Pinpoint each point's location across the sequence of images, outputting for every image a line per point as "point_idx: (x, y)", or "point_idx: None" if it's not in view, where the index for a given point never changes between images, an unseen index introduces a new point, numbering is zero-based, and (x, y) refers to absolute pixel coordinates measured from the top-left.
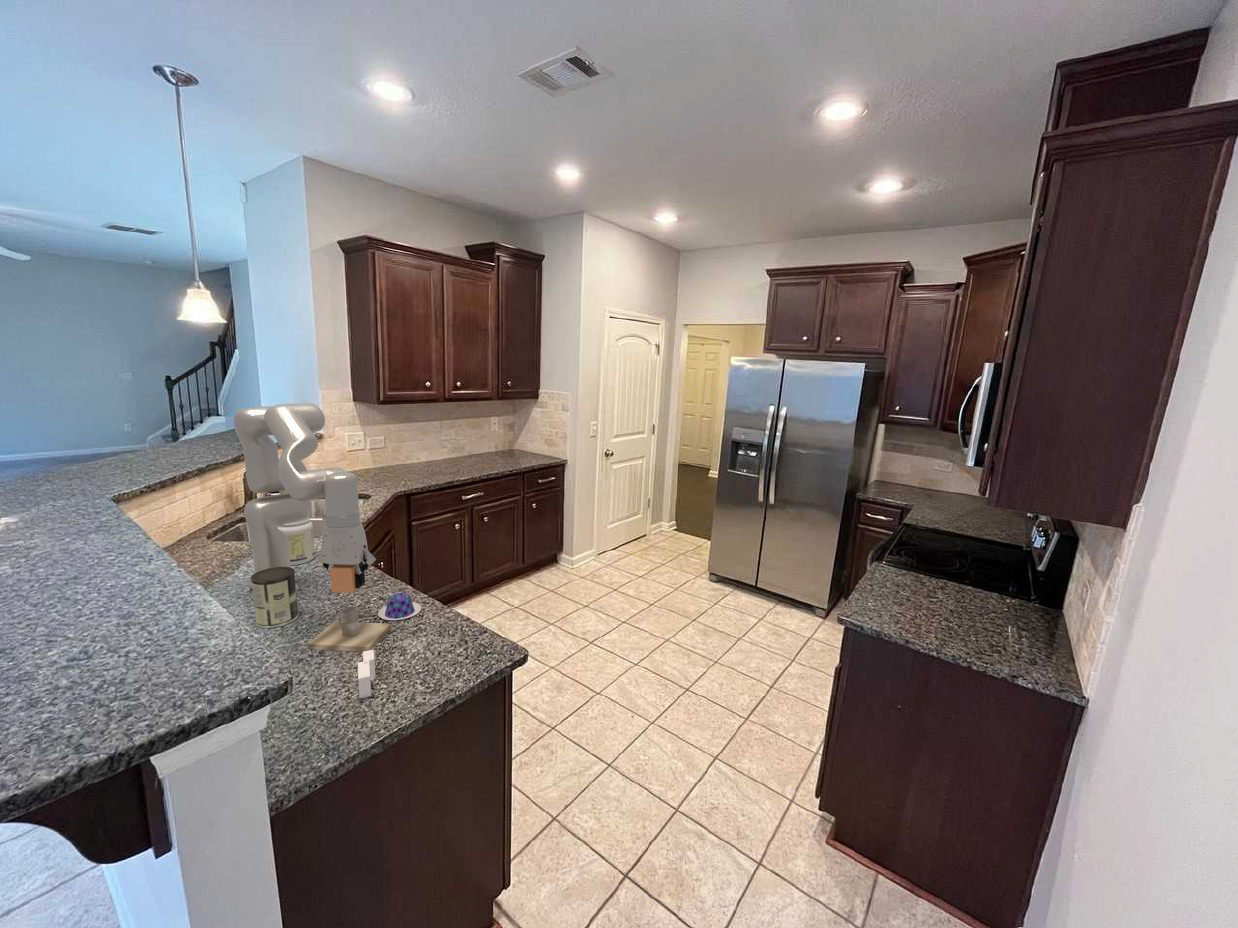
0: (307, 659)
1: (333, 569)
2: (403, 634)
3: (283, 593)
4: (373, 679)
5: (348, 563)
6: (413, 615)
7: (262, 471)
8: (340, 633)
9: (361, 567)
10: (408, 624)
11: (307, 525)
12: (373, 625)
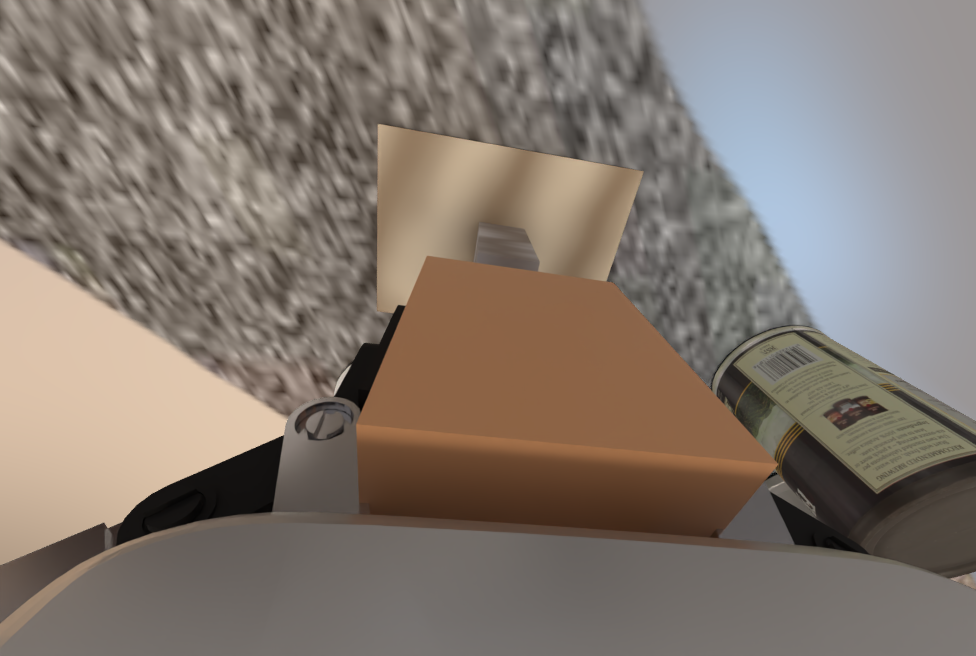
0: (617, 78)
1: (701, 436)
2: (316, 261)
3: (840, 427)
4: None
5: (386, 553)
6: (340, 376)
7: None
8: (537, 249)
9: (265, 492)
10: (334, 328)
11: None
12: None
